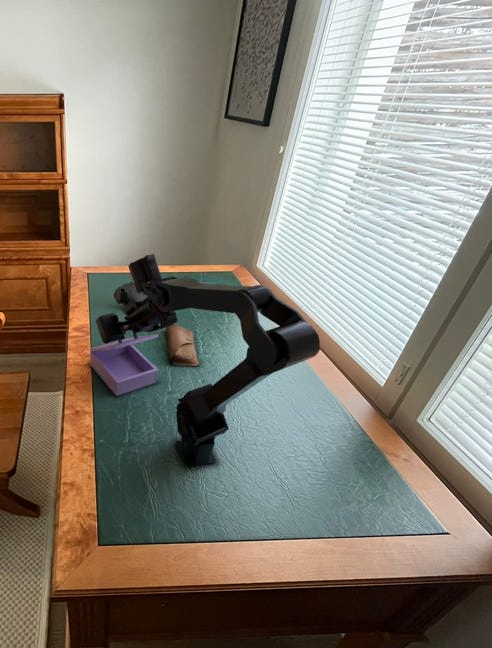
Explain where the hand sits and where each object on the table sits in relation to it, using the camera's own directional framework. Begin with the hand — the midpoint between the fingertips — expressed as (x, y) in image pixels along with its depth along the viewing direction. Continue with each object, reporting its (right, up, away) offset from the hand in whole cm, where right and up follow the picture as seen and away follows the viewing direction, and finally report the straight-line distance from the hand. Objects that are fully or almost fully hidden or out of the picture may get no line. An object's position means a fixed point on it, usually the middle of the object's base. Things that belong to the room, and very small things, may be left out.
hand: (122, 331), depth 96 cm
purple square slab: (0, -3, +1) cm, 4 cm away
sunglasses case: (+19, -4, +17) cm, 25 cm away
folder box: (0, -11, +6) cm, 12 cm away
